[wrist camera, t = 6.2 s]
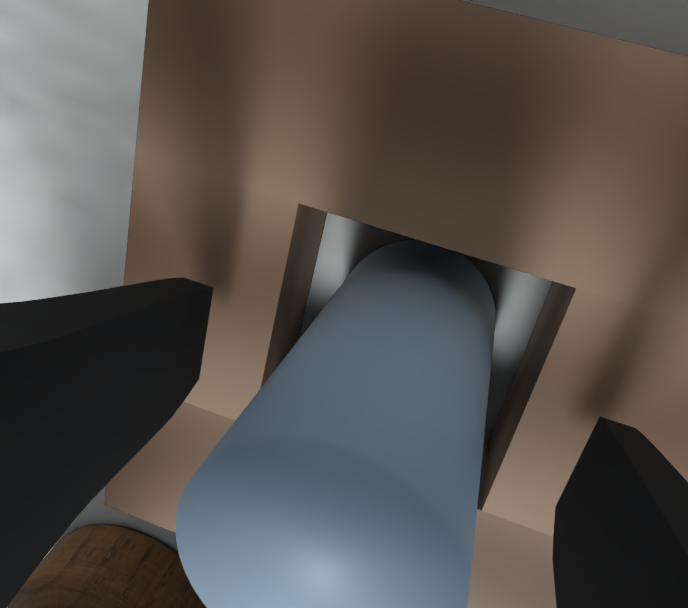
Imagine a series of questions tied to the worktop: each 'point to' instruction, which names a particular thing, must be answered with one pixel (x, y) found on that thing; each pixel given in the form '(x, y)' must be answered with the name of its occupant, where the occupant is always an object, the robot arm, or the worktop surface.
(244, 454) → the peg
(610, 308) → the socket block
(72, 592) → the mortar and pestle
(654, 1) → the worktop surface
